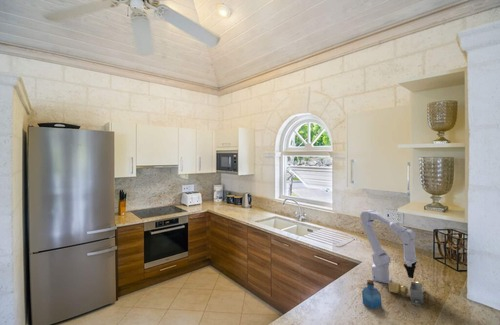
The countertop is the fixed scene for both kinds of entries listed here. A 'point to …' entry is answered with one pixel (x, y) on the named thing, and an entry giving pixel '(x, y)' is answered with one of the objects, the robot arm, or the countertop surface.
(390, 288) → the end cover
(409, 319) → the countertop surface
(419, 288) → the pillow block
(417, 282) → the cover
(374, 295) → the perfume bottle
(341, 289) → the countertop surface
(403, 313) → the countertop surface
